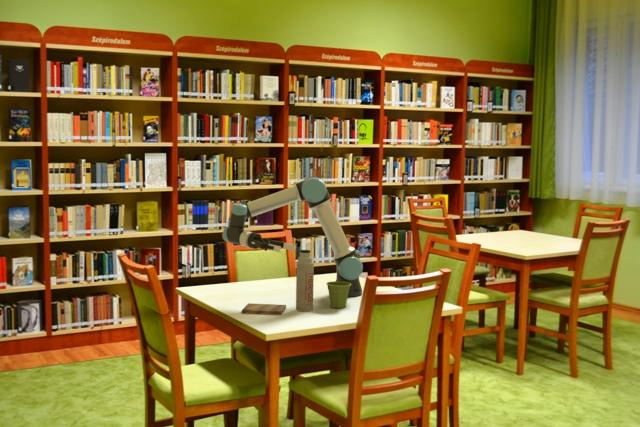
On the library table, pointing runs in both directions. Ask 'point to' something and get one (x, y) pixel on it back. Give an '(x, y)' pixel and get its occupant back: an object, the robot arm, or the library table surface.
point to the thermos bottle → (304, 282)
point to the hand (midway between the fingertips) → (287, 248)
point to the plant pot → (338, 293)
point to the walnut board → (264, 309)
